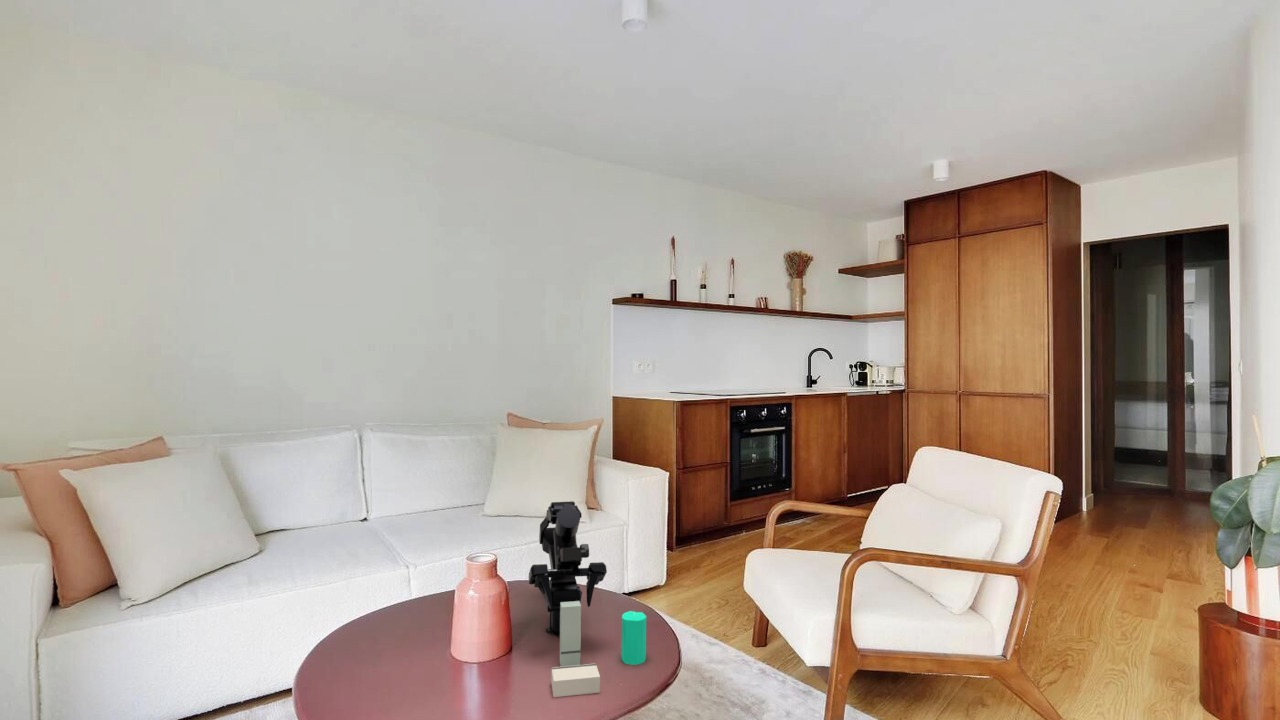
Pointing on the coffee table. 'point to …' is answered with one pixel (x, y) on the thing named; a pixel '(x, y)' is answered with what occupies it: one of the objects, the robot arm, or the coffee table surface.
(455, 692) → the coffee table surface
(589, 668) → the block
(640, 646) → the candle
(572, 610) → the pale green upright box
